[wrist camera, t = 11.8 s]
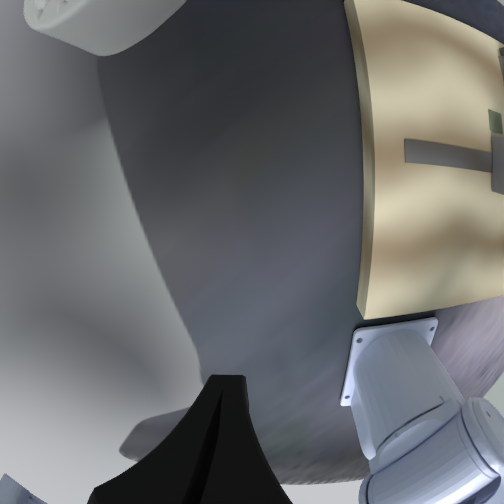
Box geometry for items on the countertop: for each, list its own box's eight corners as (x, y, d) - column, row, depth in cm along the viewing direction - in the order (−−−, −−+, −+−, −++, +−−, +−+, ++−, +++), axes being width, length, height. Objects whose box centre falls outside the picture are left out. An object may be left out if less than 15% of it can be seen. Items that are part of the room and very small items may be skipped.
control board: (518, 280, 18) (538, 294, 14) (356, 304, 19) (370, 332, 16) (523, 67, 10) (545, 64, 7) (343, 2, 12) (357, -22, 8)
